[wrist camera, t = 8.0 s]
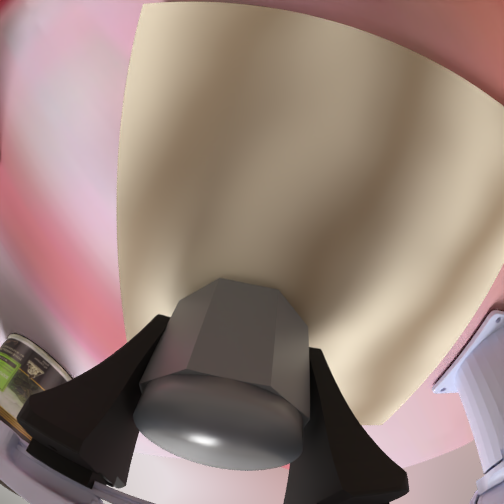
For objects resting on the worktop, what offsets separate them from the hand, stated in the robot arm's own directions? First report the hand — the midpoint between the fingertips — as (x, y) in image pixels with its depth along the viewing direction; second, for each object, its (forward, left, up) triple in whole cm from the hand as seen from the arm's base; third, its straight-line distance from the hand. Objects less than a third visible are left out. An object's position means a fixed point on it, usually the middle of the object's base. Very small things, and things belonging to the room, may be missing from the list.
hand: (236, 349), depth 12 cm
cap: (0, 0, -1) cm, 1 cm away
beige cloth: (-3, -3, -3) cm, 5 cm away
